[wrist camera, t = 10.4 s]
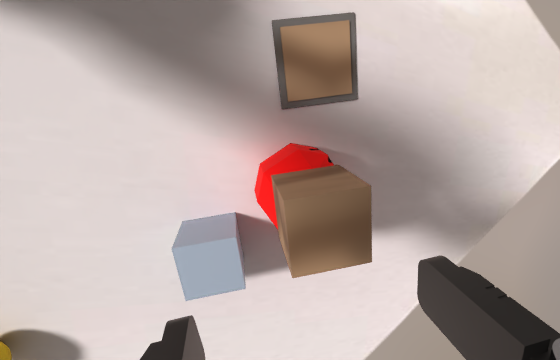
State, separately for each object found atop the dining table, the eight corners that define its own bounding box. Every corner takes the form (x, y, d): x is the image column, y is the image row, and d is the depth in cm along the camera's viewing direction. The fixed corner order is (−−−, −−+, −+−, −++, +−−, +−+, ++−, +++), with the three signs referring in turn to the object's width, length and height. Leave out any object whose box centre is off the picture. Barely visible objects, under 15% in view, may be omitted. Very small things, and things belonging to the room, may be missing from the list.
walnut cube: (271, 175, 24) (283, 200, 18) (338, 164, 24) (371, 185, 19) (279, 237, 25) (292, 278, 20) (341, 225, 26) (371, 262, 20)
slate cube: (182, 221, 32) (171, 248, 26) (235, 212, 32) (236, 236, 27) (193, 265, 33) (185, 300, 28) (243, 256, 34) (245, 288, 28)
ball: (336, 185, 33) (365, 210, 26) (280, 222, 33) (294, 257, 26) (302, 129, 31) (324, 139, 23) (242, 169, 31) (245, 192, 24)
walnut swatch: (271, 20, 27) (272, 19, 27) (353, 13, 28) (355, 11, 28) (281, 109, 30) (282, 109, 29) (356, 99, 31) (358, 99, 30)
